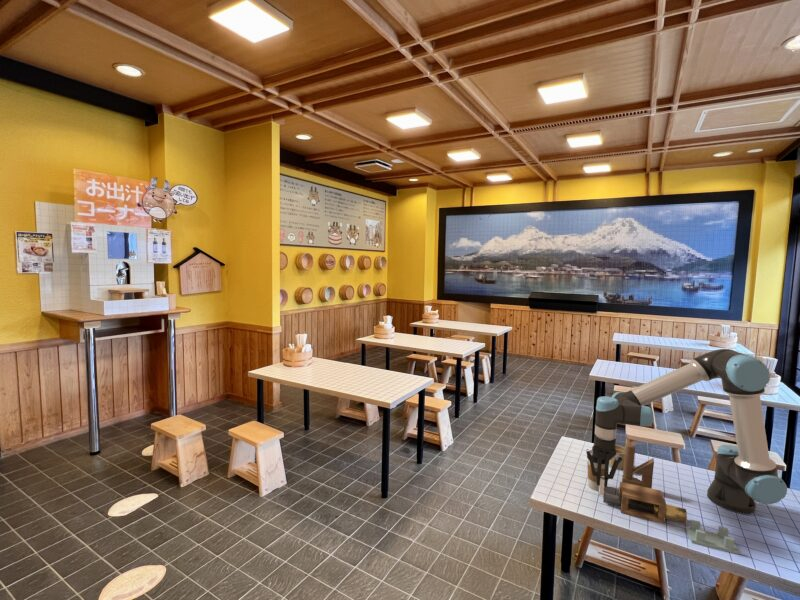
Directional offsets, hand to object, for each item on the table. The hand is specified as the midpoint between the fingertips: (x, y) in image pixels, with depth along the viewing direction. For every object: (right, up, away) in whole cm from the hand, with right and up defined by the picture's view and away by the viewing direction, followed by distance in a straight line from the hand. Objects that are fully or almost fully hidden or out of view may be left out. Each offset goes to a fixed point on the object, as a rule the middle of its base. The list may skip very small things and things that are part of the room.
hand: (601, 493), depth 159 cm
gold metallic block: (+21, -3, -9) cm, 23 cm away
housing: (+13, -4, -5) cm, 14 cm away
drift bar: (+9, -4, -2) cm, 10 cm away
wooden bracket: (+21, -3, +11) cm, 24 cm away
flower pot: (+22, -2, +29) cm, 36 cm away
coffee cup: (+3, -3, +11) cm, 12 cm away
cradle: (+27, -6, -21) cm, 35 cm away
